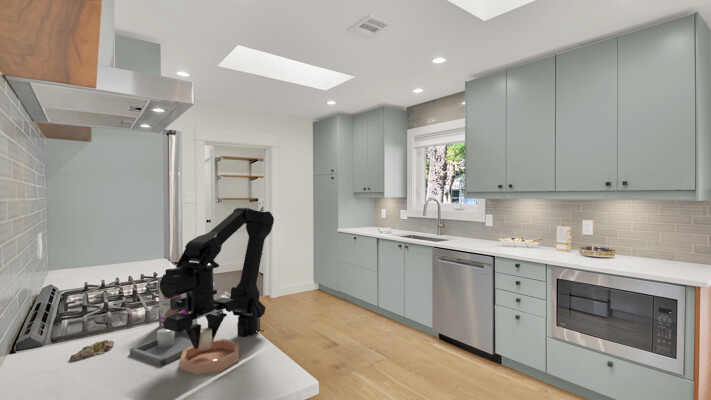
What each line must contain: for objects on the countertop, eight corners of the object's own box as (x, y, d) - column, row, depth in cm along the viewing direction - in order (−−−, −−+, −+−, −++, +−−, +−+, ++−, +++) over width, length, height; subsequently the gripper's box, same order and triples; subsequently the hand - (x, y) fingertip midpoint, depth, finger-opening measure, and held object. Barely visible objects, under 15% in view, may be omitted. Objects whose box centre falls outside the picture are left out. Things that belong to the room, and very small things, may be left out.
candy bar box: (158, 328, 117) (156, 279, 117) (168, 323, 122) (167, 275, 122) (188, 331, 115) (187, 280, 115) (198, 325, 120) (196, 277, 119)
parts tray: (182, 335, 112) (182, 328, 111) (213, 343, 105) (213, 336, 105) (130, 357, 97) (129, 349, 97) (162, 368, 91) (161, 360, 91)
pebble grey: (168, 341, 106) (168, 326, 106) (178, 343, 104) (177, 328, 103) (154, 346, 102) (153, 331, 102) (163, 349, 100) (163, 334, 100)
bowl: (214, 346, 103) (214, 336, 103) (250, 356, 97) (249, 345, 97) (169, 368, 91) (169, 356, 91) (207, 381, 85) (206, 368, 84)
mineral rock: (101, 337, 106) (118, 334, 102) (104, 352, 105) (121, 349, 102) (59, 354, 96) (76, 351, 93) (63, 370, 95) (80, 368, 92)
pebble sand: (204, 342, 98) (204, 326, 98) (216, 345, 96) (215, 329, 96) (190, 348, 94) (190, 332, 94) (202, 352, 92) (201, 335, 92)
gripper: (210, 276, 107) (211, 327, 107) (149, 292, 90) (151, 353, 91) (236, 280, 102) (238, 334, 102) (177, 298, 85) (179, 362, 86)
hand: (203, 344), depth 95 cm, fingers closed on pebble sand, 4 cm apart
